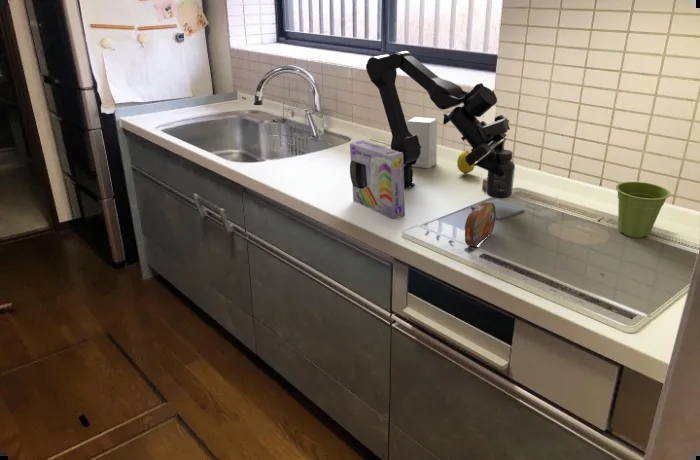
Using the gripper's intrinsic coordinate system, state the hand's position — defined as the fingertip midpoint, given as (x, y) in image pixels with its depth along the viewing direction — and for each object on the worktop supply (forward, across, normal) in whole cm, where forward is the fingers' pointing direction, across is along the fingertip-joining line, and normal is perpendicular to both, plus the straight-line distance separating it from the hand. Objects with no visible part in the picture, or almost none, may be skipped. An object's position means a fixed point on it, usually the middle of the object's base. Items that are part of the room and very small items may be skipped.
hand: (506, 171), depth 155 cm
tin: (+8, -21, +8) cm, 24 cm away
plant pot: (+31, 0, -16) cm, 35 cm away
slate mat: (+7, -1, +8) cm, 11 cm away
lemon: (-5, +24, +21) cm, 32 cm away
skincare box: (-17, +27, +33) cm, 46 cm away
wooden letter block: (+3, +14, +12) cm, 19 cm away
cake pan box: (-14, -14, +30) cm, 36 cm away
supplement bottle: (+4, 0, +6) cm, 7 cm away
